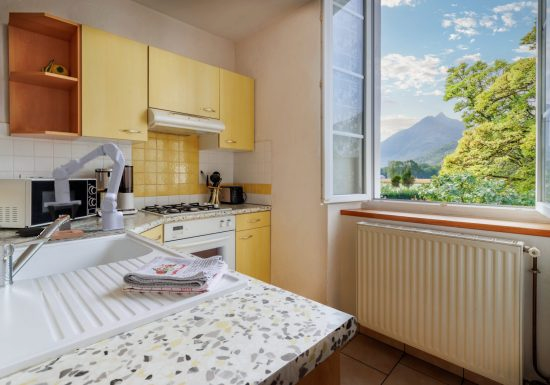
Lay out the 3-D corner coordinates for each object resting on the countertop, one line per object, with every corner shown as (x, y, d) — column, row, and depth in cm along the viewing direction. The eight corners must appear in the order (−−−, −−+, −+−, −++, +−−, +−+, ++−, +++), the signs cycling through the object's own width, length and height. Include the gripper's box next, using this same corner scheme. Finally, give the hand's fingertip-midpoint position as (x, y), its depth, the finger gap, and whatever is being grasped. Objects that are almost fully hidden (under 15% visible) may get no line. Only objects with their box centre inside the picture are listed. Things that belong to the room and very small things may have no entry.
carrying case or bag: (20, 231, 134) (13, 229, 143) (20, 238, 134) (13, 235, 143) (49, 228, 142) (40, 226, 151) (49, 234, 142) (40, 231, 151)
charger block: (68, 232, 148) (68, 218, 148) (71, 233, 145) (70, 219, 144) (59, 233, 145) (58, 219, 145) (61, 234, 142) (60, 220, 141)
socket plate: (77, 233, 144) (77, 229, 144) (83, 236, 135) (83, 231, 135) (46, 237, 135) (46, 232, 135) (51, 240, 126) (50, 236, 126)
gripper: (78, 191, 152) (79, 218, 153) (42, 193, 142) (44, 221, 142) (81, 191, 147) (82, 219, 148) (44, 193, 137) (46, 222, 137)
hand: (64, 220), depth 145 cm, fingers open, 7 cm apart
